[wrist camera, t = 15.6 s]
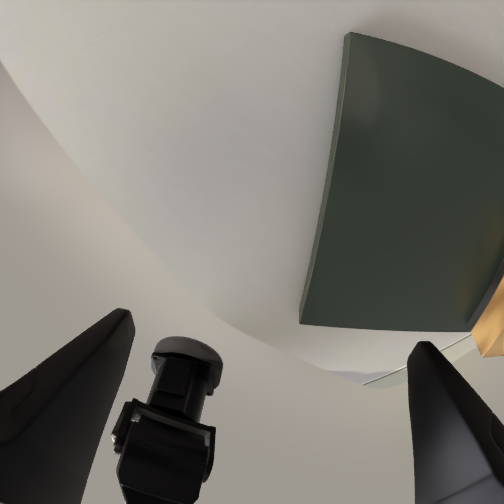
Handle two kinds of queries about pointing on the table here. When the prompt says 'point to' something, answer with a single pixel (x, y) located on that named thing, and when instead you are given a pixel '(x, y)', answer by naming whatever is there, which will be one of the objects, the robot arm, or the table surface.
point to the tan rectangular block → (490, 318)
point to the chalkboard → (408, 194)
